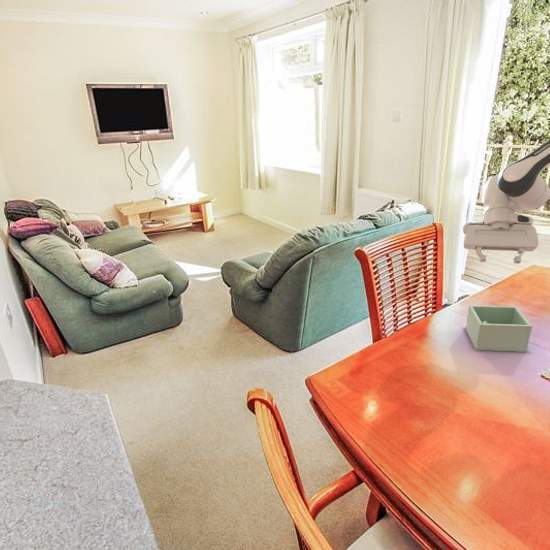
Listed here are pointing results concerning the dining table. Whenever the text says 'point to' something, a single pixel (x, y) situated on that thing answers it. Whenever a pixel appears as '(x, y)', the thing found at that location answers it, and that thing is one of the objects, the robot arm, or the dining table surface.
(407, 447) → the dining table surface
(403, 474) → the dining table surface
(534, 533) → the dining table surface
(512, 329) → the sage green open box
